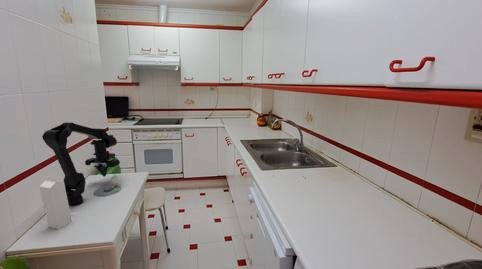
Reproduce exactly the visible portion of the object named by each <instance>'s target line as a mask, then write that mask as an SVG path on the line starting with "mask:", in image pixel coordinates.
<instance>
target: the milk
mask: <svg viewBox="0 0 482 269" xmlns="http://www.w3.org/2000/svg"><path fill="white" fill-rule="evenodd" d="M39 192H40V195H41V196H40V197H41V200H42V203H43V209H44V212H45V213H44V214H45V217H46V222H47V226H48V228H53V229H57V230H60V229H61V228H63V227H65V226H66V225H69V223H72V215H71V211H70V210H71V209H70V206H69V205H68V200H67V194H66V189H65V184H64V181H58V180H57V178H56V177H53V176H45V179H44V181H43V182H42V184H40V185H39Z"/></svg>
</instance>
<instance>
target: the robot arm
mask: <svg viewBox="0 0 482 269" xmlns="http://www.w3.org/2000/svg"><path fill="white" fill-rule="evenodd" d="M72 133H76V134H80V135H84V136H87V137H88V138H90V139H92V141H91V142H90V143H89V145H91V146H94V152H93V156H95V157H90V158H88V159H86V160H85V162H84V163H85V164H84V165H85V166H91V165H92V164H94V166H93V167H94V168H95V169H96V170H97V171H98V172H99V173H100V175H102V177H104V178H105V177H107V172H108V169H109V168H115V167H116V166H118V165H120V164H121V162H120V160H119V159H116V153H110V151H109V150H107V149H109V148H111V147H114V146H116V145H117V144H118V140H117V139H116V137H114V134H108V132H106V129H104V128H92V127H88V126H86V125H82V124H77V123H74V122H69V121H68V122H65V121H64V122H63V123H61V124H60V125H58V126H55V127H52V128H51V129H47V130H45V132H43V135H42V136H41V137H42V140H43V142H44V143H45V145H46V146H47V147H49V148H50V149H52V151H53V153H54V154H55V156H56V159H57V161H58V164H59V165H60V168H61V170H62V172H63V174H64V178H63V182H64V184H65V189H66V194H67V200H68V205H69V207H74V206H80V205H82V204H83V203H84V199H83V195H82V194H83V193H85V189H86V180H87V179H86V178H85V175H84V173H83V172H78V171H77V169H76V167H75V165H74V162H73V160H72V158H71V155H70V153H69V150H68V148H67V144H68V138H69V137H70V136H71V135H72Z"/></svg>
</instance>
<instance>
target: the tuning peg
mask: <svg viewBox="0 0 482 269" xmlns="http://www.w3.org/2000/svg"><path fill="white" fill-rule="evenodd" d="M111 180H112V182H111V183H112V185H113V186H110V185H105V186H106V187H105V186H103V187H104V188H103V190H104V192H109V191H111V190H112V188H113V187H114V186H116V185H118V186H119V182H118V176H117V175H112V176H111Z"/></svg>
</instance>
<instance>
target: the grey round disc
mask: <svg viewBox="0 0 482 269" xmlns="http://www.w3.org/2000/svg"><path fill="white" fill-rule="evenodd" d="M106 186H107V185H105V186H102V187H99V188H97V189H95V190H94V192H93V193H92V195H93V196H94V197H97V198H99V197H100V198H104V197H110V196H113V195H116V194H118V193H119V192H120V191H122V188H123V187H122V186H121V185H119V184H118V185H116V186H114V187H113V188H112V190H111V191H109V192H104V190H103V188H104V187H106ZM109 186H113V184H112V185H109Z"/></svg>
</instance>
